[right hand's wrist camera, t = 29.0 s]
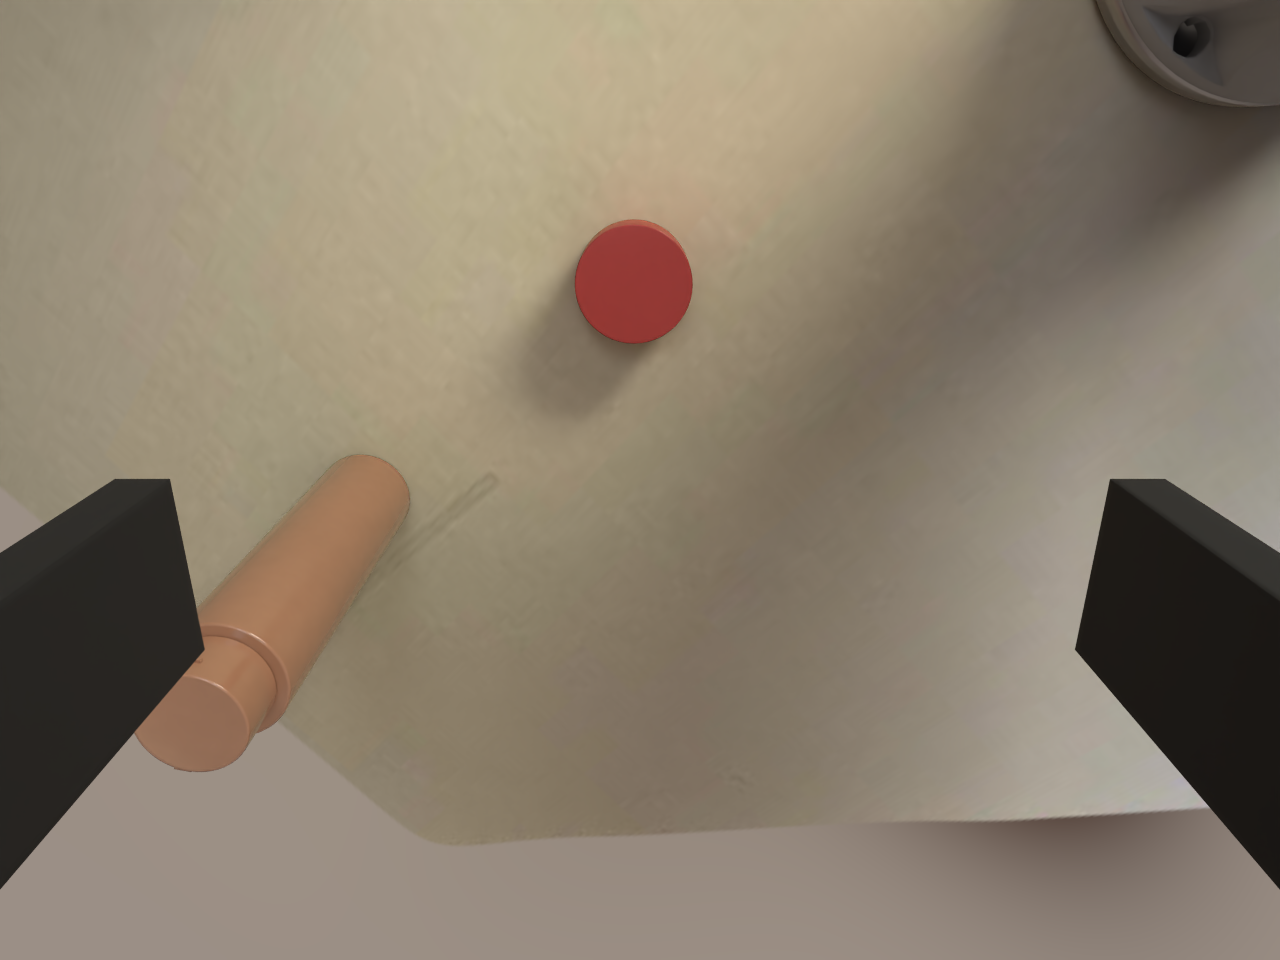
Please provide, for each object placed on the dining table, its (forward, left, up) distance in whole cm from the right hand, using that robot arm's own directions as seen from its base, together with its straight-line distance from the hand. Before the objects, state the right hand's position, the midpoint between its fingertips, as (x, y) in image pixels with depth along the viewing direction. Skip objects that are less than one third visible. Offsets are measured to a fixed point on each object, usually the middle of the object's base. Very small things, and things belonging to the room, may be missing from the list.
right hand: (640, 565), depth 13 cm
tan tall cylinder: (+8, -15, -28) cm, 33 cm away
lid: (0, 0, -26) cm, 26 cm away
